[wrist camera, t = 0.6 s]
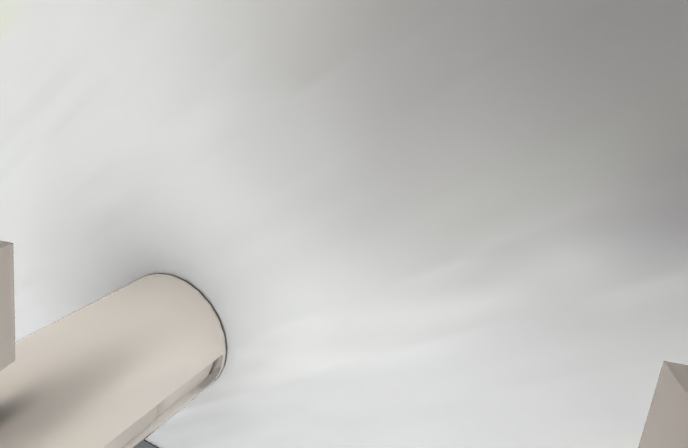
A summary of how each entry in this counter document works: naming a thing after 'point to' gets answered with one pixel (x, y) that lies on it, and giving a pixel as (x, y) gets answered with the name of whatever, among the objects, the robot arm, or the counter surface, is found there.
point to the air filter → (112, 368)
